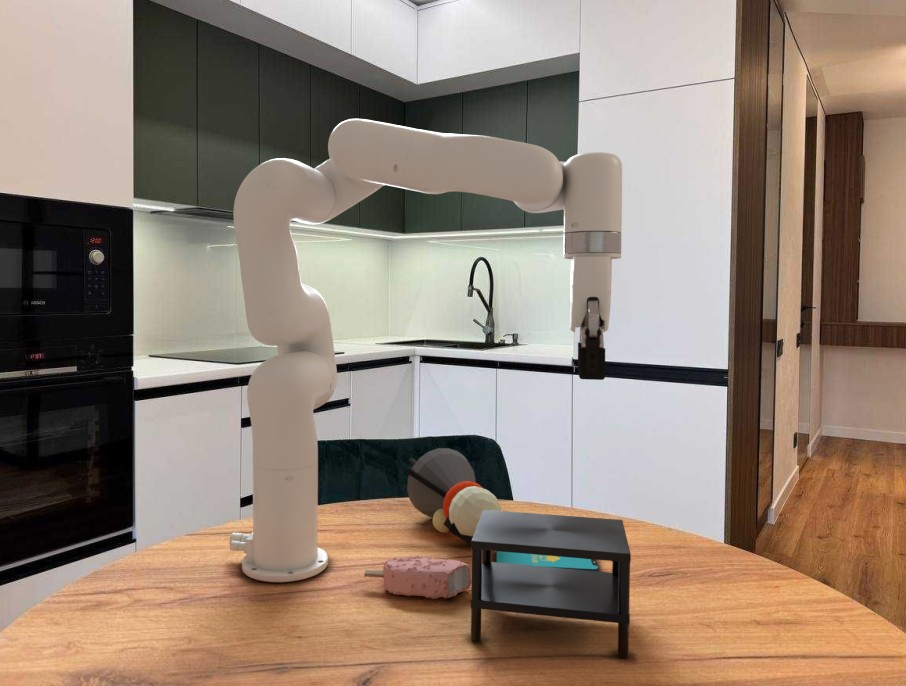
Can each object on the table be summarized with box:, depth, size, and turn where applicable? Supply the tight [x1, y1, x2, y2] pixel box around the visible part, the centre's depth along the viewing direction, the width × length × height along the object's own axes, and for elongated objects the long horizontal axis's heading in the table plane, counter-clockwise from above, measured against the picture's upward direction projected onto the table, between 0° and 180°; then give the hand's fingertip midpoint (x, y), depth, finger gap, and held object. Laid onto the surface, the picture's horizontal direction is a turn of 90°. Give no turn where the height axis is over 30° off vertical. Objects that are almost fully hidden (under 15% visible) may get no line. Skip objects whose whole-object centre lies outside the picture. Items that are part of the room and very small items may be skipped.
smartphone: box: [495, 551, 600, 572], centre depth 106 cm, size 7×1×15 cm
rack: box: [470, 510, 632, 660], centre depth 86 cm, size 18×12×12 cm, turn 78°
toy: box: [406, 447, 502, 547], centre depth 122 cm, size 17×13×30 cm
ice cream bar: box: [363, 555, 472, 600], centre depth 95 cm, size 6×4×15 cm
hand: (590, 374), depth 93 cm, fingers open, 9 cm apart
